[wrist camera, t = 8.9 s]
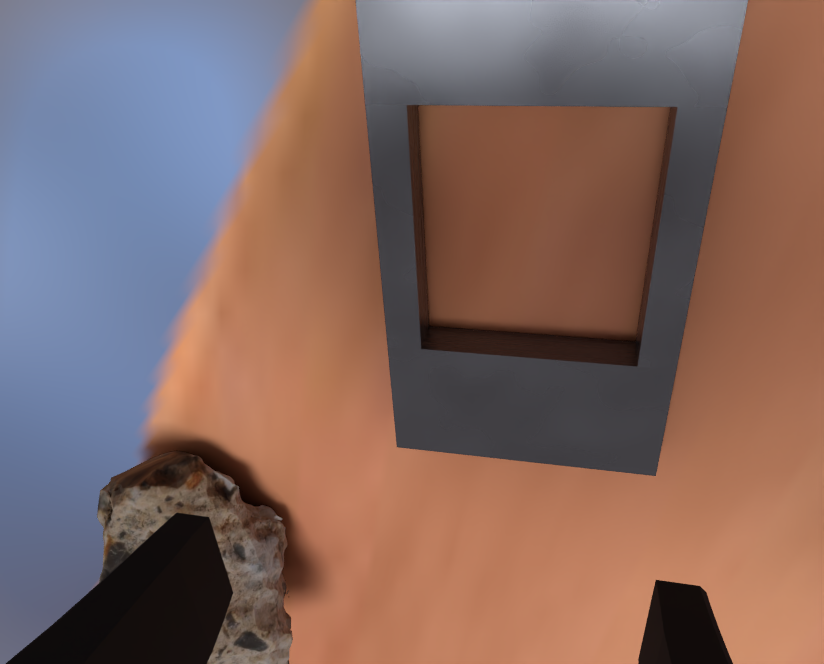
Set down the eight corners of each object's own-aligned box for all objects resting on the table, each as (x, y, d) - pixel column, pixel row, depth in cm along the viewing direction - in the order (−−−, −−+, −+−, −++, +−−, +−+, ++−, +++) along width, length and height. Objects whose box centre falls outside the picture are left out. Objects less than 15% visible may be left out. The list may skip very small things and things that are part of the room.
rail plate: (869, -717, 10) (901, -785, 9) (653, 448, 22) (656, 478, 21) (321, -602, 11) (294, -646, 10) (405, 422, 24) (396, 449, 23)
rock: (25, 502, 29) (74, 758, 27) (19, 480, 23) (82, 809, 21) (234, 448, 33) (289, 666, 31) (277, 418, 27) (348, 686, 25)
